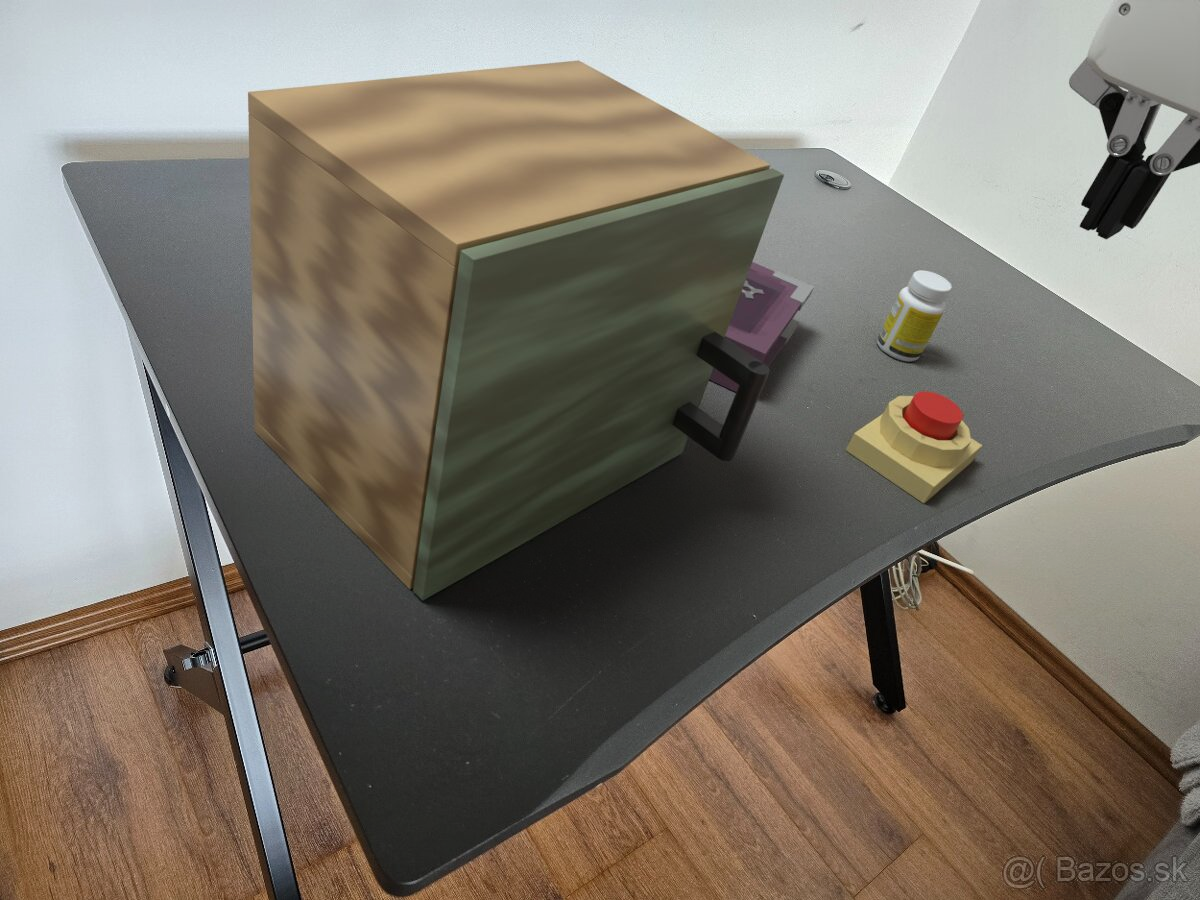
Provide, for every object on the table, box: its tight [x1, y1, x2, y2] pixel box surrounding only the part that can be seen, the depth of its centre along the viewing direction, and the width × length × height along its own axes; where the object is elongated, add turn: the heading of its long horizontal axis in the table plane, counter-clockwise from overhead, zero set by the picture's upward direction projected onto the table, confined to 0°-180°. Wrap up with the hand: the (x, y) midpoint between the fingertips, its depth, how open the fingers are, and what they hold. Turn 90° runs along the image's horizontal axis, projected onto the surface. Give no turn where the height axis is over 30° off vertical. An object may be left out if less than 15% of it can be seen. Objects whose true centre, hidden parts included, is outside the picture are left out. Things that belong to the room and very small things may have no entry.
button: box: [904, 390, 964, 440], centre depth 79 cm, size 4×4×2 cm
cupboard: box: [247, 60, 771, 590], centre depth 62 cm, size 18×26×24 cm
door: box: [412, 168, 785, 601], centre depth 57 cm, size 6×26×24 cm, turn 137°
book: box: [709, 261, 815, 393], centre depth 90 cm, size 25×16×5 cm, turn 64°
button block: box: [845, 395, 983, 504], centre depth 80 cm, size 10×8×4 cm
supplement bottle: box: [876, 269, 953, 362], centre depth 94 cm, size 5×5×8 cm
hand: (1100, 228), depth 52 cm, fingers closed
